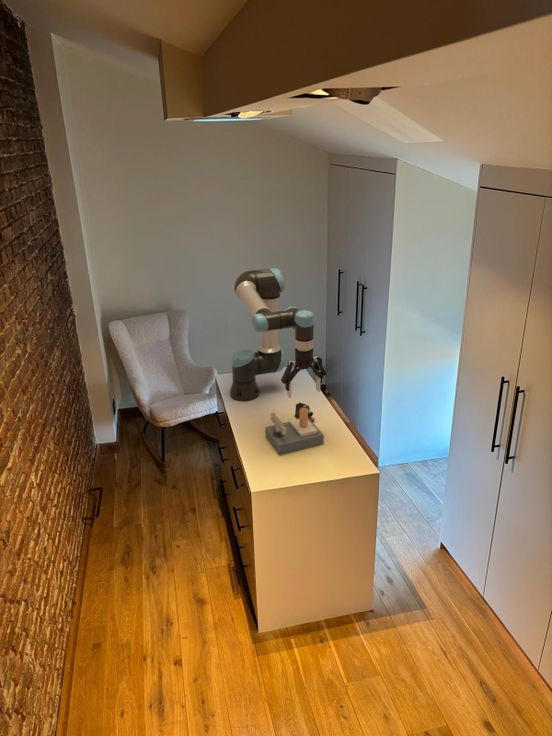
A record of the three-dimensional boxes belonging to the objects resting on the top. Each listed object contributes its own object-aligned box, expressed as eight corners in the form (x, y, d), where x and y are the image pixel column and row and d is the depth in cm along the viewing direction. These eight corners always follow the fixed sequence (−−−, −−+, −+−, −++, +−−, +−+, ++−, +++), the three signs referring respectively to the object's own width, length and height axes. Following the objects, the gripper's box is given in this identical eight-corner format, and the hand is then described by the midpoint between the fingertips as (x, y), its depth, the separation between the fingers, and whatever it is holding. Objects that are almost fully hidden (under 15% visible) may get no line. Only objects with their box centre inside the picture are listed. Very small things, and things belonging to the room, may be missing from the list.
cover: (289, 423, 245) (289, 405, 241) (305, 420, 247) (306, 401, 243) (300, 437, 235) (301, 418, 231) (317, 433, 237) (318, 414, 233)
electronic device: (308, 424, 254) (308, 410, 251) (294, 417, 260) (294, 403, 257) (315, 421, 256) (315, 407, 253) (300, 414, 263) (300, 400, 260)
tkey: (282, 442, 231) (282, 429, 228) (270, 426, 242) (270, 413, 240) (286, 441, 231) (286, 428, 228) (274, 425, 243) (274, 412, 240)
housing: (265, 436, 245) (265, 426, 243) (307, 426, 252) (307, 417, 250) (279, 455, 231) (279, 445, 229) (323, 444, 239) (323, 434, 236)
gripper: (279, 356, 217) (280, 403, 226) (335, 346, 226) (333, 391, 235) (272, 349, 223) (273, 395, 232) (326, 340, 232) (325, 384, 241)
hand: (303, 393), depth 234 cm, fingers open, 13 cm apart
